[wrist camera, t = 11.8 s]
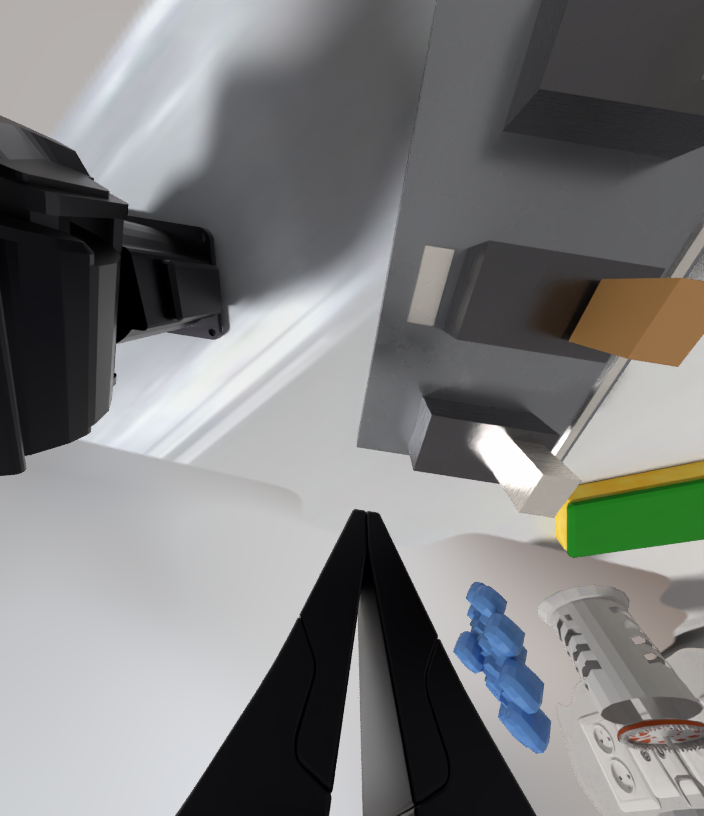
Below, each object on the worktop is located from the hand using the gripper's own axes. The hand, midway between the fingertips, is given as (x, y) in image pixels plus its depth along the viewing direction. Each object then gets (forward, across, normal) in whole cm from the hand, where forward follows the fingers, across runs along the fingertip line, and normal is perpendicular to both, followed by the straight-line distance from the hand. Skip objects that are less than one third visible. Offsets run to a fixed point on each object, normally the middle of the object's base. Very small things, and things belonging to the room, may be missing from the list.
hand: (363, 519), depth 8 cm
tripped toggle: (+8, -10, -7) cm, 15 cm away
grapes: (+12, -16, +23) cm, 31 cm away
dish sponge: (+13, -26, +7) cm, 30 cm away
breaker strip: (+12, -8, -7) cm, 16 cm away
